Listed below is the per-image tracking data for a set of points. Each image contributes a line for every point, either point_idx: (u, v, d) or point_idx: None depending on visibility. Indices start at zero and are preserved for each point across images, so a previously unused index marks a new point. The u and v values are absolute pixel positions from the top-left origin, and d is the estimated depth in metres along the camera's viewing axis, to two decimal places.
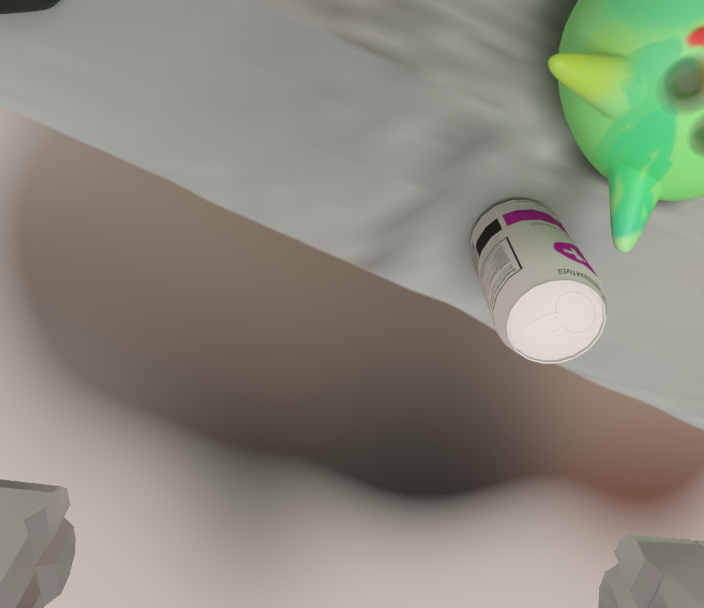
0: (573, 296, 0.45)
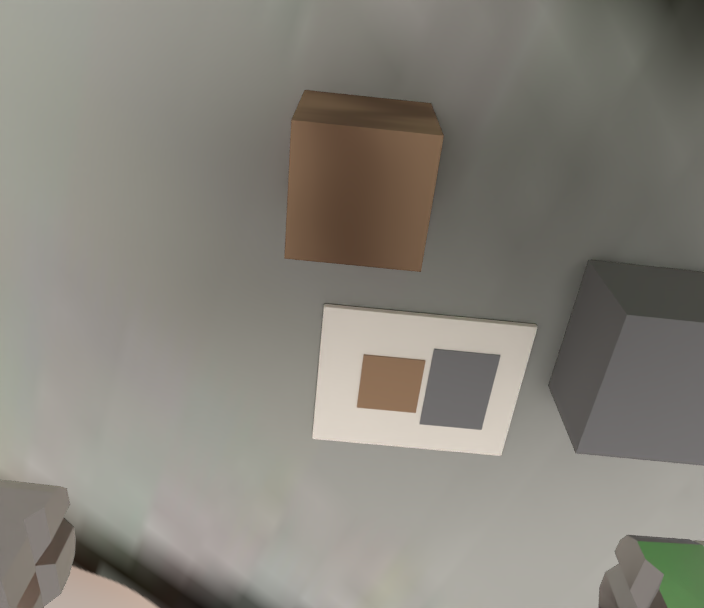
0: None
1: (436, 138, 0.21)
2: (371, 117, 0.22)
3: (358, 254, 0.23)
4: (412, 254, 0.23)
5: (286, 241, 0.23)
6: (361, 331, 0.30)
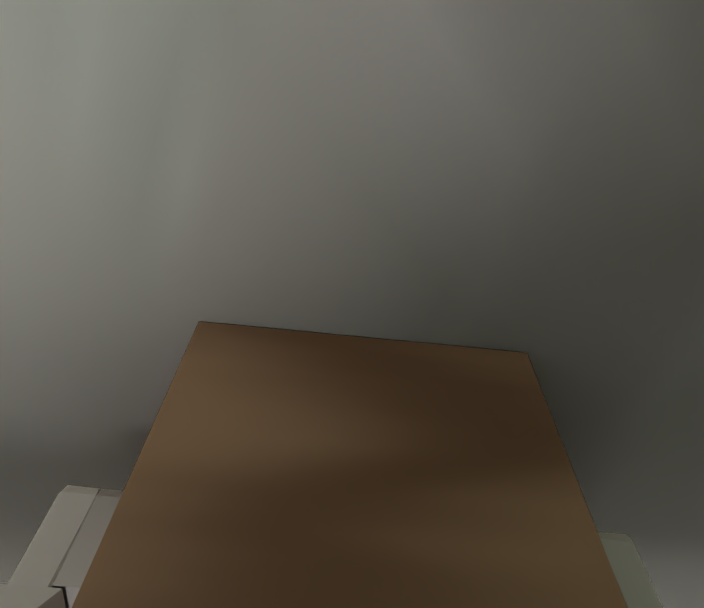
0: None
1: None
2: (376, 517, 0.07)
3: None
4: None
5: None
6: None
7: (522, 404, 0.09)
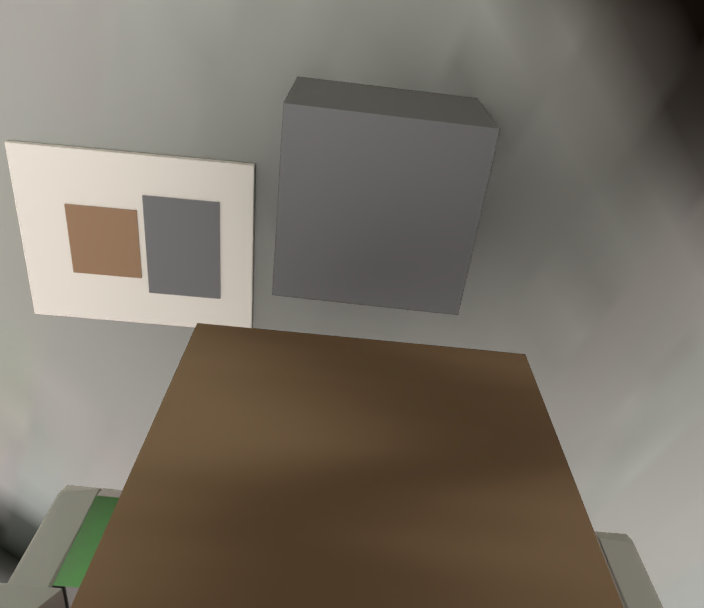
0: None
1: None
2: (373, 520, 0.07)
3: None
4: None
5: None
6: (55, 173, 0.26)
7: (520, 406, 0.09)
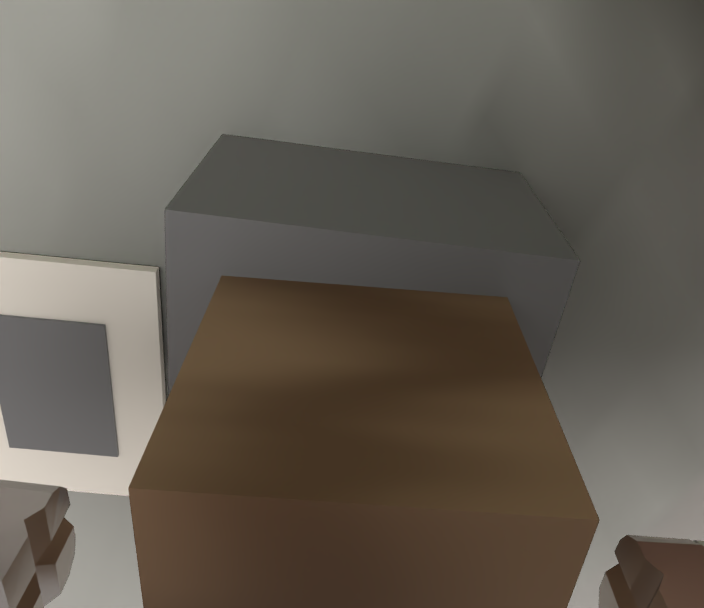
0: None
1: (574, 521, 0.07)
2: (375, 413, 0.08)
3: None
4: None
5: None
6: None
7: (501, 334, 0.10)
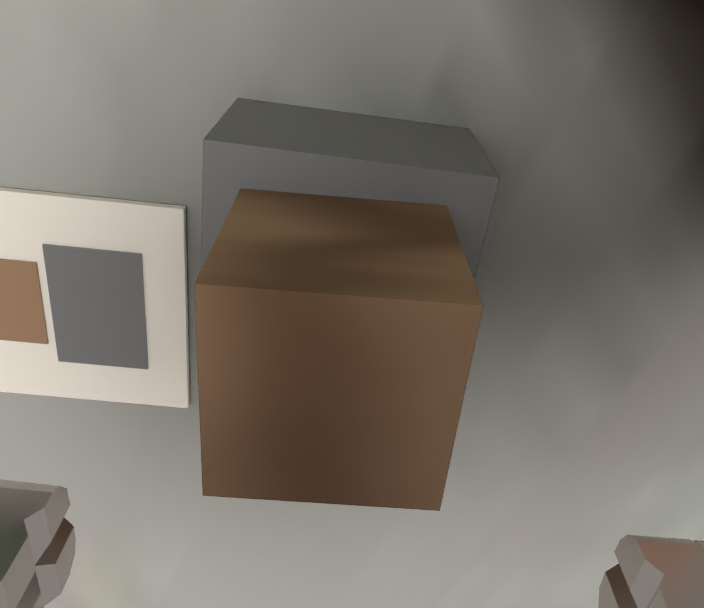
0: None
1: (469, 309, 0.11)
2: (347, 258, 0.12)
3: (331, 487, 0.13)
4: (425, 486, 0.13)
5: (203, 471, 0.13)
6: None
7: (438, 224, 0.14)
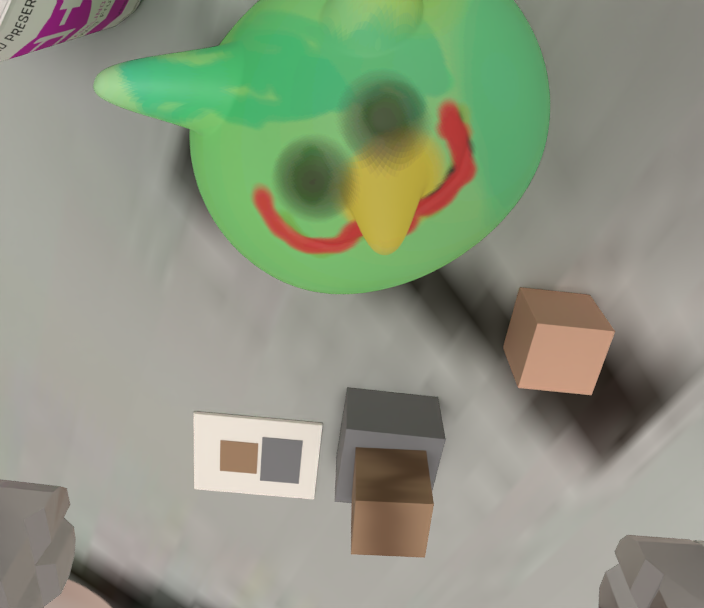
0: None
1: (430, 504, 0.41)
2: (395, 485, 0.42)
3: (391, 551, 0.43)
4: (420, 550, 0.43)
5: (352, 547, 0.43)
6: (217, 427, 0.50)
7: (422, 463, 0.44)
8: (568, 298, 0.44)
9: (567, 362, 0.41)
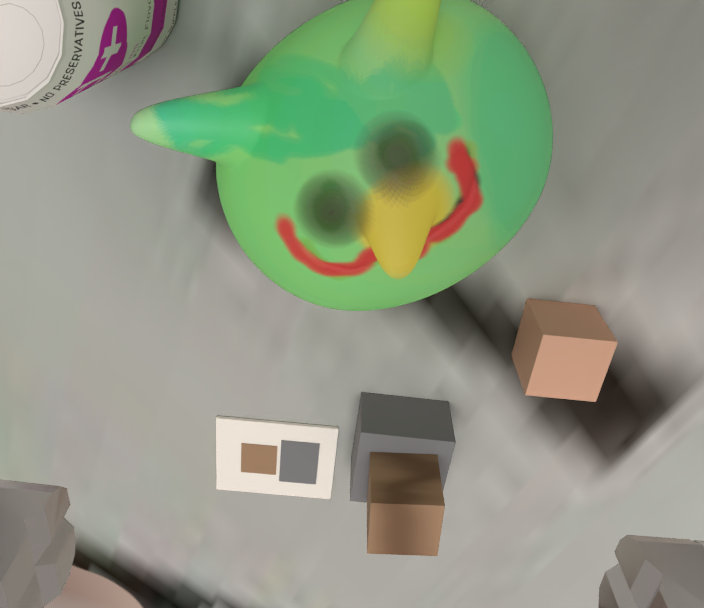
0: (33, 37, 0.24)
1: (441, 506, 0.43)
2: (408, 487, 0.44)
3: (405, 550, 0.45)
4: (432, 549, 0.45)
5: (368, 546, 0.45)
6: (238, 430, 0.52)
7: (434, 466, 0.46)
8: (573, 309, 0.46)
9: (572, 370, 0.43)
